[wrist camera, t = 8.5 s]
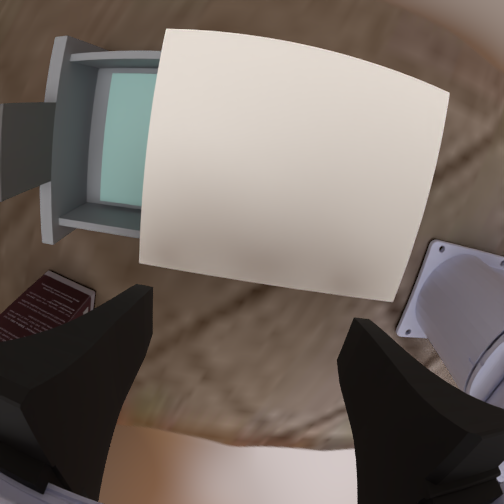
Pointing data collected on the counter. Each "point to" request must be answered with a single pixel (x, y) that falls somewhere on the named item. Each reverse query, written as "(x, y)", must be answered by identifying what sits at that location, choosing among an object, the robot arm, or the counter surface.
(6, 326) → the supplement box
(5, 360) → the robot arm
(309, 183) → the sleeve
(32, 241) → the counter surface
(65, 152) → the tray
